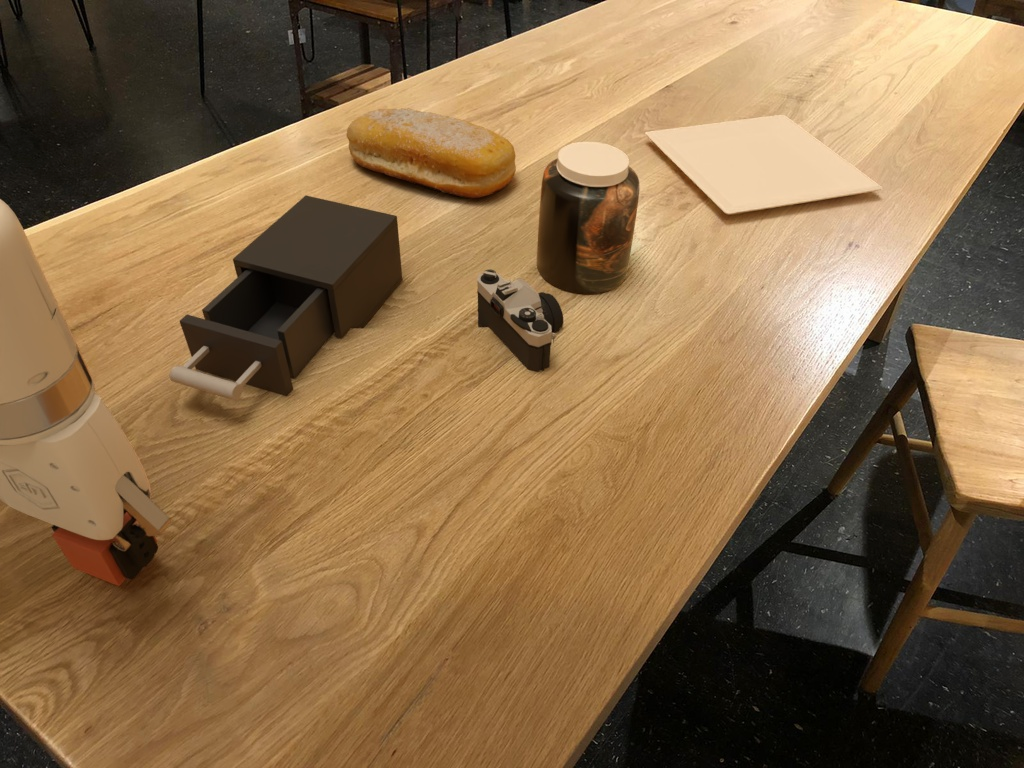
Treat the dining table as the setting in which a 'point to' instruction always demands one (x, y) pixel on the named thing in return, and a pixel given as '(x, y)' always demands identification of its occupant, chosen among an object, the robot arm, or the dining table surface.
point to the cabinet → (332, 256)
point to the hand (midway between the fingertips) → (114, 551)
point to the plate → (760, 163)
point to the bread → (432, 151)
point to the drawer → (255, 335)
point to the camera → (519, 317)
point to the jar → (587, 218)
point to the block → (91, 554)
